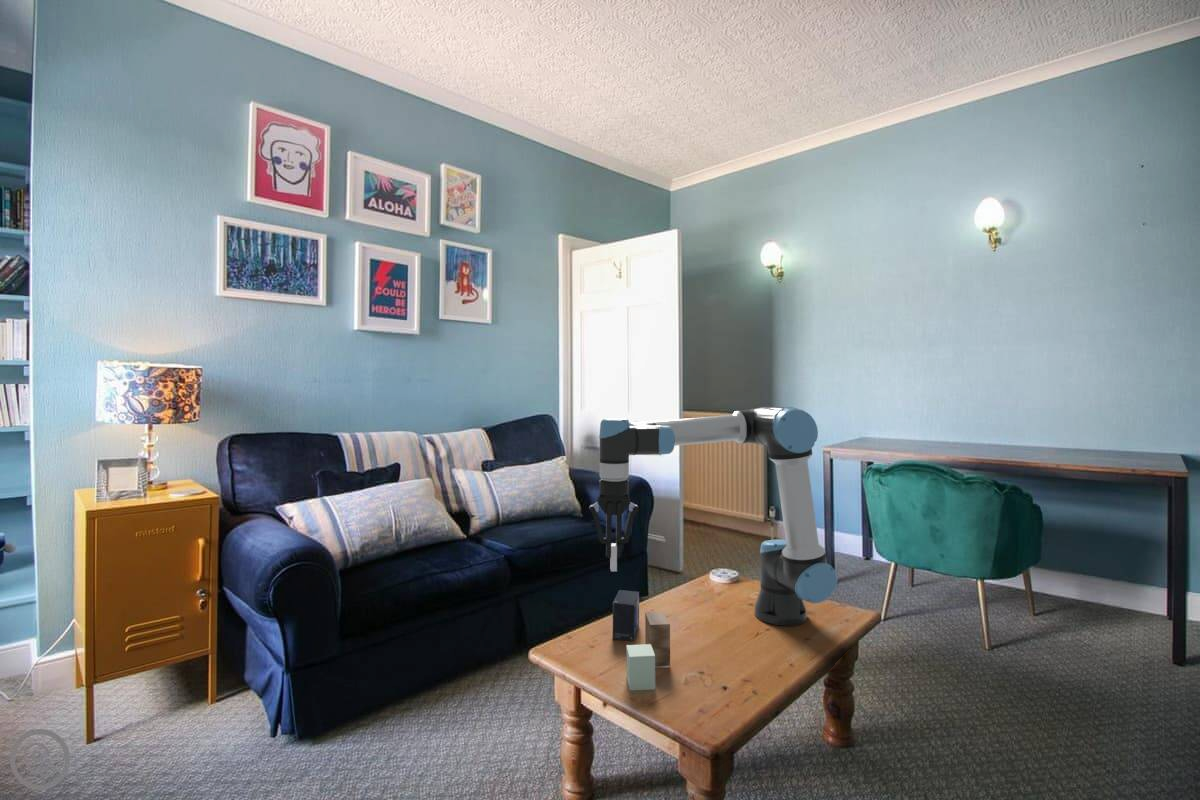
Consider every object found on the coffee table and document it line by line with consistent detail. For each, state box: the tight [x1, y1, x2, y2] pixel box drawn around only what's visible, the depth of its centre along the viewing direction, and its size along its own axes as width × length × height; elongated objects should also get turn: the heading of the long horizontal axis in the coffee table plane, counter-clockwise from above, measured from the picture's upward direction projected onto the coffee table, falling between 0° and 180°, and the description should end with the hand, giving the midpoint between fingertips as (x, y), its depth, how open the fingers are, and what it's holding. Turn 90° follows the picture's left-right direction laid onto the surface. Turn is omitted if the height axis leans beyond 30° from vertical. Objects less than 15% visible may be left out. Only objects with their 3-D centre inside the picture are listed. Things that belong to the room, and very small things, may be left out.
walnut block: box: [644, 611, 671, 669], centre depth 150 cm, size 5×8×11 cm, turn 4°
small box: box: [612, 589, 640, 642], centre depth 167 cm, size 11×6×10 cm, turn 168°
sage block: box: [625, 643, 656, 691], centre depth 139 cm, size 6×6×8 cm
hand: (613, 569), depth 150 cm, fingers closed
